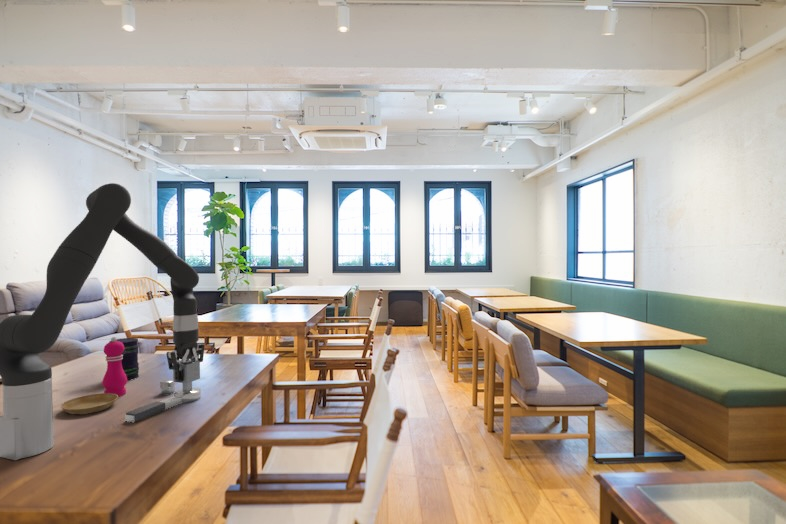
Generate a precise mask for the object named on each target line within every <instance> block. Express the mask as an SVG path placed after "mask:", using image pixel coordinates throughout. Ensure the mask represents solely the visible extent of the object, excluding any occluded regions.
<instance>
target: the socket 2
mask: <svg viewBox="0 0 786 524" xmlns="http://www.w3.org/2000/svg"><path fill="white" fill-rule="evenodd" d="M200 363H201V362H200V361H194V360H192V359H186V362H185V363H184V364H183V368H182V370H183V381H182V382H177V381H176V380H175V370H173V371H172V373H173V374H172V378H173V379H172V380H173V381H174V383H181V384H182V383H189V382H192V383H193V382H194V381H197V380H200V379H201V364H200ZM179 364H180V363H179ZM179 364H178V366H179Z"/></svg>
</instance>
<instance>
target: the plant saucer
mask: <svg viewBox="0 0 786 524" xmlns="http://www.w3.org/2000/svg"><path fill="white" fill-rule="evenodd" d="M118 398H119V396H118V395H116V394H112V393H104V392H103V393H94V394H93V393H92V394H87V395H83V396H78V397H75V398H72V399H69V400H67V401H64V402H63V403H61V404H60V408H61V409H62V410H64V412H66V413H68V414H70V415H74V414H80V415H86V414H88V413H89V414H93V412H94V413H98V412H101V411H104V410H106V409H108V408H110V407H112V405H114V403H115V402H116V401H117V399H118Z"/></svg>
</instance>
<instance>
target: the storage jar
mask: <svg viewBox="0 0 786 524" xmlns="http://www.w3.org/2000/svg"><path fill="white" fill-rule="evenodd" d="M117 341H119V342H121V343H123V345H124V351H123V353H122V355H123V359H122V362H121V363H122V368H123V370H124V372H125V374H126V377H127V380H129V381H132V380H131V379H133V380H135V378H136V379H138V378H139V376H140V375H139V371H140V367H139V366H140V365H139V364H140V363H139V361H138V359H139V358H138V354H139V338H137V337H127V338H126V337H125V338H119V339H118V338H117ZM109 342H112V341H111V340H109V341H108V343H109Z"/></svg>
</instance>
